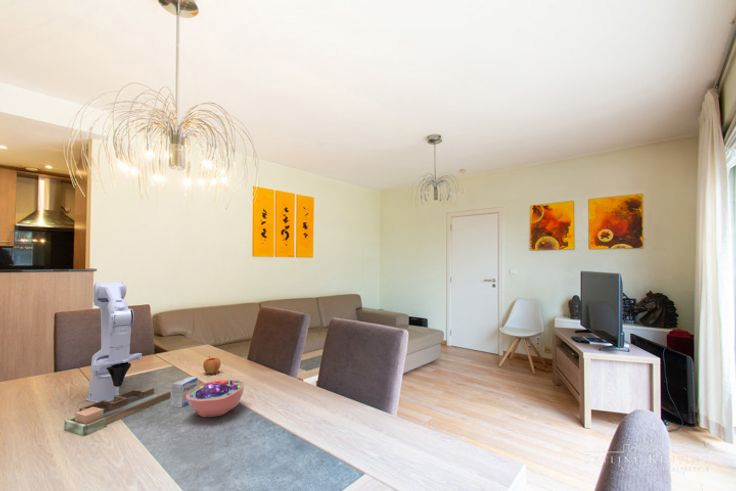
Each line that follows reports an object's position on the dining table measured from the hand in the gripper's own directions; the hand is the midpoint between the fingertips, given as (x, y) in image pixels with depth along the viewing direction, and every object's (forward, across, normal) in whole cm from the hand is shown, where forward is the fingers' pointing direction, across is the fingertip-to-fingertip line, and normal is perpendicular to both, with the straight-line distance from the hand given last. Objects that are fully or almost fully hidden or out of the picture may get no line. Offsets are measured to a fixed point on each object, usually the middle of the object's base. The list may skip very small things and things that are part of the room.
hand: (117, 385), depth 113 cm
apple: (+10, +44, +3) cm, 46 cm away
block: (+9, -8, 0) cm, 13 cm away
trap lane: (+10, +2, +2) cm, 10 cm away
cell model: (+10, +15, -29) cm, 34 cm away
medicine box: (+10, +16, -13) cm, 23 cm away
